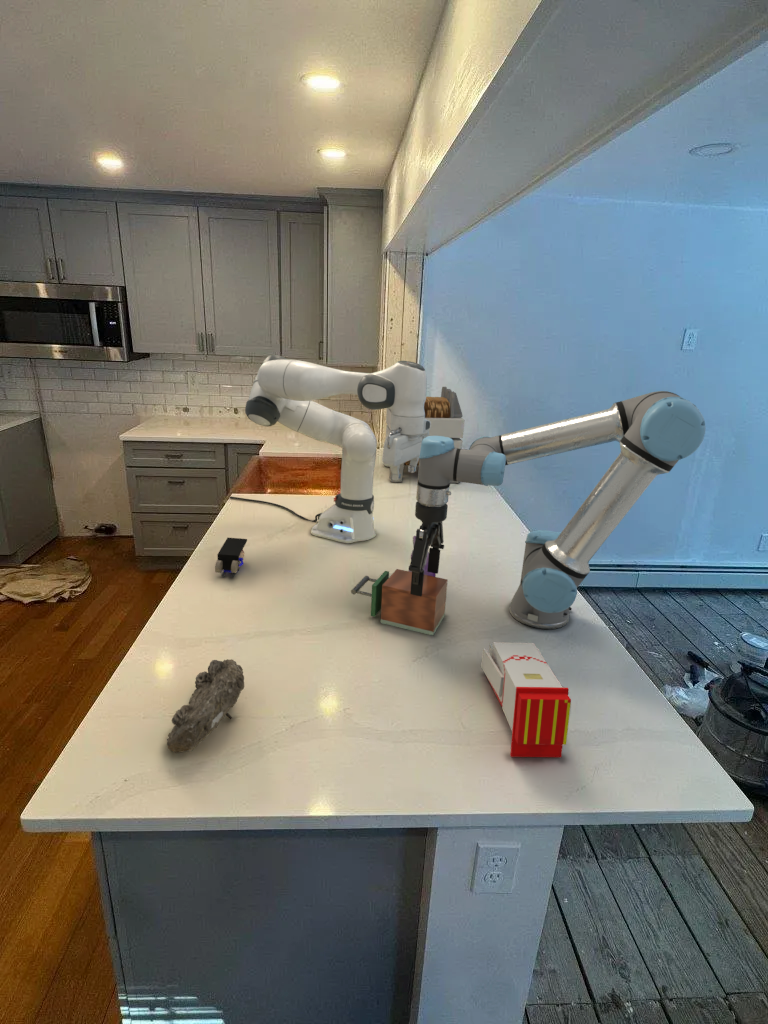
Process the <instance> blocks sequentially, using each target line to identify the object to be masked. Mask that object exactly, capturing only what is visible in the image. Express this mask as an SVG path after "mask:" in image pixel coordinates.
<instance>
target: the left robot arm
mask: <svg viewBox="0 0 768 1024" xmlns="http://www.w3.org/2000/svg"><path fill="white" fill-rule="evenodd" d="M427 378H428V377H427V371H426V368H425V367H424V366H422V365H421V364H419V363H417V362H414V361H410V360H398V361H396V362H395V363H394V364H393V365H391V366H389V367H386V368H384V369H381V370H379V371H374V372H361V371H350V370H342V369H338V368H335V367H329V366H325V365H322V364H318V363H315V362H310V361H305V360H299V359H289V358H287V357H285V356H283V355H280V354H270V355H267V357H265V358H264V360H263V361H262V363H261V364H260V366H259V368H258V370H257V374H256V376H255V377H254V380H253V382H252V387H251V389H250V392H249V396H248V399H247V401H246V403H245V407H244V413H245V415H246V417H247V419H249V420H250V421H251V422H252V423H255V424H256V425H259V426H263V427H272V426H275V425H276V424H277V423H278V424H281V425H282V426H284V427H286V428H287V429H290V430H292V431H294V432H296V433H299V434H301V435H303V436H305V437H308V438H310V439H313V440H315V441H317V442H320V443H325V444H330V445H332V446H337V447H339V448H341V451H342V452H341V466H340V467H341V468H340V490H339V491H338V492H337V494H336V495H335V496H334V497H333V502H334V504H333V505H331V506H329V507H328V508H326V509H325V510H323V511H322V512H319V513H317V514H315V516H314V519H308V518H306V517H305V516H302V515H300V514H298V513H297V512H295V511H294V510H293V509H291V508H288V507H286V506H283V505H280V504H278V503H274V502H269V501H264V500H258V499H250V498H243V497H236V496H229V499H233V500H239V501H247V502H252V503H253V502H254V503H261V504H266V505H271V506H275V507H279V508H282V509H284V510H286V511H288V512H290V513H291V514H293V515H294V516H296V517H298V518H300V519H302V520H305V521H308V522H312V523H315V524H314V525H313V526H312V528H311V530H310V533H311V536H315V537H319V538H323V539H326V540H330V541H336V542H339V543H343V544H352V543H357V542H365V541H368V540H372V539H373V538H375V537H376V535H377V532H376V528H375V523H374V513H373V512H374V509H375V496H374V476H375V475H374V474H375V466H376V459H377V447H378V441H377V437H376V435H375V433H374V432H373V430H372V428H371V426H370V425H369V424H368V423H367V422H366V421H364V420H362V419H358V418H356V417H354V416H351V415H348V414H346V413H343V412H340V411H336V410H334V409H331V408H329V407H327V406H325V405H322V404H320V403H318V402H316V400H317V401H318V400H321V399H325V398H329V397H333V396H338V395H357V398H358V400H359V402H360V404H361V405H362V406H363V407H364V408H366V409H368V410H373V411H379V410H383V409H387V408H389V409H391V427H390V434H389V435H388V437H387V438H386V437H385V438H386V439H385V438H384V442H383V449H382V450H383V451H382V459H381V461H382V464H383V466H384V465H385V466H384V467H387V466H389V467H388V468H389V470H390V469H391V472H392V479H393V480H395V481H398V480H400V478H401V477H400V476H401V473H399V468H400V464H403V463H405V462H407V461H409V460H411V461H410V465H409V466H407V472H408V473H411V474H413V473H415V472H417V463H418V460H419V456H420V451H421V443H422V440H423V439H424V438H425V437H428V436H429V430H428V429H430V428H431V421H429V420H427V419H425V411H424V403H425V400H426V397H427V391H428V387H427V386H428V384H427V382H428V381H427V380H428V379H427ZM316 522H317V523H316Z"/></svg>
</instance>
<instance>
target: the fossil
mask: <svg viewBox="0 0 768 1024" xmlns="http://www.w3.org/2000/svg"><path fill="white" fill-rule="evenodd" d="M243 670H244V669H243V667H242V665H240V664H237V662H236V661H235V660H234V659H232V658H231V659H227V658H226V659H224V660H223V661H222V660H217V659H212V660H211V661H210V663H209V665H208V666H207V671H201V672H199V673H198V674H197V675H196V676H195V680H194V684H195V685H194V687H195V689H194V690H193V693H192V694H191V697H190V698H189V700H188V704H184V705H182V706H181V707H180V709H177V710H176V711H175V713H174V715H173V716H172V718H171V723H172V724H173V727H172V730H171V731H170V732H168V734H167V738H166V741H167V742H166V745H167V749H168V750H169V751H173V752H174V753H176V754H178V753H182V752H188V751H189V752H192V751H193V750H195V748H196V747H197V746H199V744H200V743H201V742H203V741H204V740H205V739H206V738H207V737H208V736H209V735H210V734H211V733H212V732H214V730H215V729H217V727H218V726H219V724H220V722H221V721H222V720H223V719H224V718H225V716H226V717H227V719H229V720H233V717H232V715H230V714H229V710H230V709H231V708H234V706H235V704H236V703H237V702H238V699H239V697H240V695H241V693H242V691H243V690H245V689H244V688H245V675H244V671H243Z"/></svg>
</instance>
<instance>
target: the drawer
mask: <svg viewBox="0 0 768 1024" xmlns="http://www.w3.org/2000/svg"><path fill="white" fill-rule="evenodd" d="M389 577H390V571H389V570H385V571H384V572H382V573H381V574H380V575H379V577H378V578H377V579H375V578H371V577H369V576H368V575H364V576H363V578H361V580H360V581H359V582H358V583H357V584H356V585H355V586H354V587H353V588H352V589H351V590H350V593H351V595H353V596H354V595H356V594H357V595H361V596H366V597H371V600H370V602H371V603H370V617H374V618H376V616H377V615H378V614H379V613H380V612H381V604H382V585H383V584H384V583H385V582H386V581H387V579H388V578H389ZM368 582H372V584H371V593H370V592H367V591H362V590H361V589H362V588H363V587H364V586H365V585H366V584H367V583H368Z"/></svg>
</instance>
